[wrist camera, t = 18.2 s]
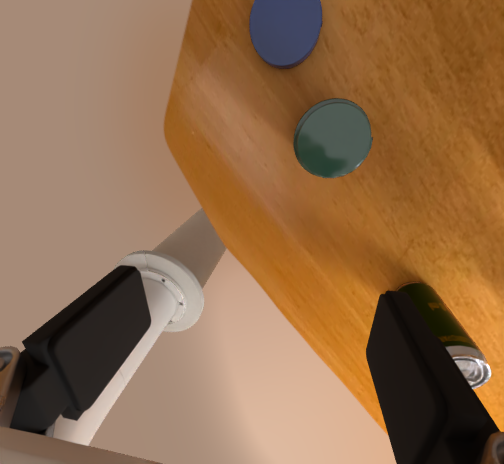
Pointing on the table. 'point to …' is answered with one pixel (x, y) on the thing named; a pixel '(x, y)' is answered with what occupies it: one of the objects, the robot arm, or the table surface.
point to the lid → (285, 30)
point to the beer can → (449, 332)
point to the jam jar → (332, 138)
